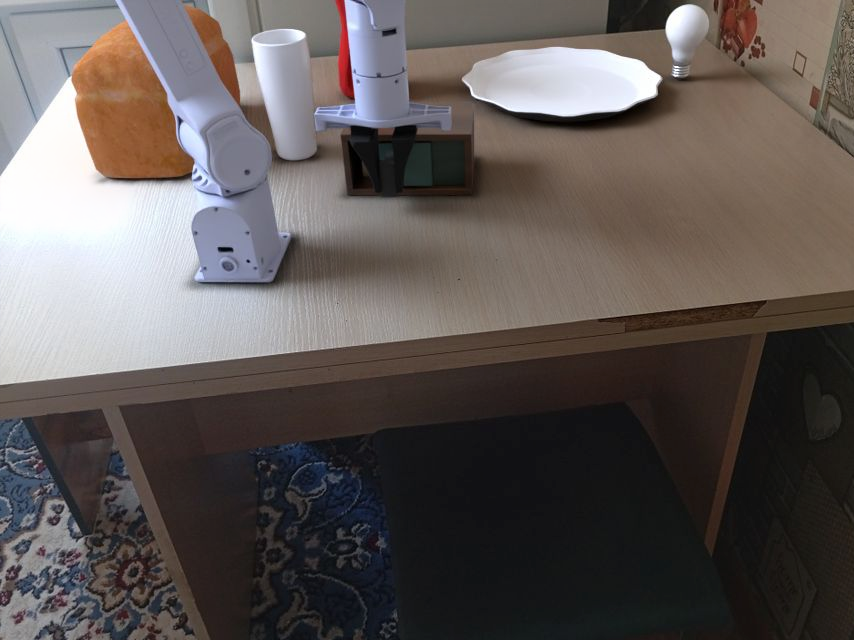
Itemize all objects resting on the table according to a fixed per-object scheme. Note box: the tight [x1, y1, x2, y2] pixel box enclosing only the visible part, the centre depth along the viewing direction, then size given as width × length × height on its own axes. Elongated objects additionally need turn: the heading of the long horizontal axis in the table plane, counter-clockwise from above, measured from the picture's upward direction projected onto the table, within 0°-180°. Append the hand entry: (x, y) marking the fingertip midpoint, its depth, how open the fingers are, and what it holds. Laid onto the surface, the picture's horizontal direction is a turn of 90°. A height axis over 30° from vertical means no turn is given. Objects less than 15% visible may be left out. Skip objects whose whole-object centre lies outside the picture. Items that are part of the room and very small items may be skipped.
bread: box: [70, 4, 241, 179], centre depth 104 cm, size 14×26×16 cm, turn 179°
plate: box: [461, 46, 664, 123], centre depth 119 cm, size 29×29×2 cm
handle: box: [379, 141, 433, 198], centre depth 90 cm, size 5×7×5 cm
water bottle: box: [334, 0, 355, 100], centre depth 113 cm, size 9×11×25 cm
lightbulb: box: [665, 3, 710, 81], centre depth 120 cm, size 6×6×11 cm
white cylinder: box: [251, 28, 318, 161], centre depth 99 cm, size 7×7×15 cm
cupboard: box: [339, 101, 475, 196], centre depth 96 cm, size 10×15×8 cm, turn 88°
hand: (389, 189), depth 90 cm, fingers closed on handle, 2 cm apart
